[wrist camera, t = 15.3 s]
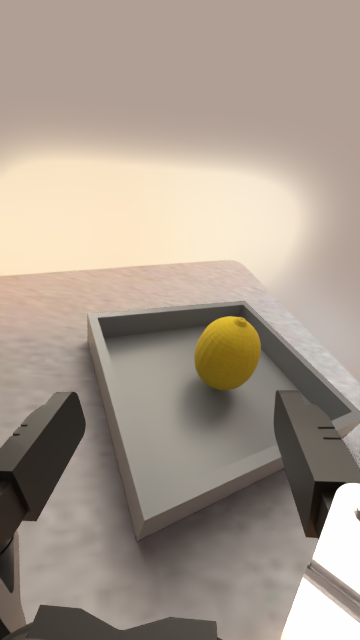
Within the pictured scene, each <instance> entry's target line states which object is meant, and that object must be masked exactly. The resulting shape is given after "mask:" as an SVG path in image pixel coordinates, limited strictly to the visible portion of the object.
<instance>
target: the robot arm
mask: <svg viewBox="0 0 360 640" xmlns="http://www.w3.org/2000/svg"><path fill="white" fill-rule="evenodd" d="M85 426H86V423H85V418H84V414H83V411H82V408H81V404H80V401H79V397H78V395H77V393H76V392H56V393H55V394H54V395H53V396H52V397H51V398H50V399H49V400H48V402H47V403H46V404H45V405H42V406H41V407H39V408H38V409H36V410H35V411H34V412H32V413H31V414H30V415H29V416H28V417H27V418H26V419H25V420H24V422H23V423H22V424H21V427H18V429H17V430H16V431H15V432H14V433H13V436H11V437H10V438H9V439H8V440H7V441H6V442H5V443H4V445H3V446H2V447H1V448H0V640H222V639H220V638H218V637H217V625H216V621H206V620H195V619H185V618H174V617H169V618H165V619H162V620H158V621H155V622H152V623H148V624H145V625H141V626H138V627H134V628H131V629H127V630H118V629H116V628H114V627H112V626H111V625H109V624H107V623H105V622H104V621H102V620H100V619H98V618H96V617H95V616H93V615H91V614H89V613H88V612H86V611H84V610H82V609H80V608H69V607H58V606H48V605H40V607H39V609H38V612H37V614H36V616H35V619H34V621H33V622H32V623H30V624H27V625H26V621H25V617H24V613H23V610H22V606H21V599H20V569H19V535H18V532H17V528H18V527H19V525H20V523H21V522H22V521H37V519H38V517H39V516H40V514H41V512H42V510H43V508H44V506H45V505H46V503H47V501H48V499H49V497H50V495H51V494H52V492H53V490H54V488H55V486H56V485H57V483H58V481H59V479H60V477H61V475H62V474H63V472H64V470H65V468H66V466H67V465H68V463H69V461H70V459H71V457H72V455H73V454H74V452H75V450H76V448H77V446H78V445H79V443H80V441H81V439H82V437H83V435H84V432H85ZM274 433H275V438H276V441H277V444H278V448H279V451H280V454H281V458H282V461H283V464H284V467H285V471H286V474H287V477H288V480H289V484H290V487H291V490H292V493H293V497H294V500H295V503H296V506H297V510H298V513H299V516H300V520H301V523H302V526H303V529H304V533H305V536H306V537H312V538H318V540H319V542H318V545H317V547H316V550H315V553H314V556H313V559H312V561H311V563H310V565H308V567H307V569H306V571H305V573H304V576H303V578H302V581H301V584H300V587H299V589H298V592H297V595H296V598H295V600H294V603H293V606H292V609H291V611H290V614H289V617H288V620H287V622H286V625H285V628H284V631H283V633H282V636H281V639H280V640H360V469H359V467H358V465H357V464H356V462H355V460H354V459H353V457H352V455H351V454H350V452H349V450H348V448H347V447H346V445H345V443H344V442H343V440H341V437H340V435H339V433H338V432H337V430H335V427H334V425H333V423H332V422H331V420H330V418H329V417H328V415H327V414H326V413H325V412H324V411H322V410H321V409H320V408H319V407H318V406H317V405H315V404H305V402H304V400H303V398H302V396H301V394H300V392H299V391H298V390H276V393H275V407H274Z"/></svg>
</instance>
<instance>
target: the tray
mask: <svg viewBox="0 0 360 640" xmlns="http://www.w3.org/2000/svg"><path fill="white" fill-rule="evenodd" d="M229 316H233V317H242V318H244V319H245V320H246V321H247V322H249V323H250V324H251V325H252V326H253V327H254V329H255V330H256V332H257V333H258V335H259V338H260V342H261V351H260V358H259V362H258V364H257V367H256V369H255V371H254V373H253V374H252V376H251V377H250V378H249V379H248V380H247V381H246V382H245V383H244V384H243V385H241V386H240V387H238V388H235V389H232V390H218V389H215V388H212V387H210V386H208V385H207V384H206V383H205V382H203V380H202V379H201V378H200V377H199V375H198V373H197V371H196V368H195V362H194V355H195V349H196V345H197V342H198V340H199V338H200V337H201V335H202V333H203V332H204V330H205V329H206V328H207V327H208V325H210V324H211V323H212V322H214V321H215V320H217V319H219V318H222V317H229ZM87 318H88V344H89V348H90V352H91V356H92V361H93V365H94V369H95V373H96V377H97V381H98V385H99V389H100V393H101V397H102V401H103V405H104V409H105V413H106V417H107V422H108V426H109V430H110V434H111V438H112V442H113V446H114V450H115V454H116V458H117V462H118V466H119V470H120V474H121V478H122V483H123V487H124V491H125V495H126V499H127V503H128V507H129V511H130V515H131V519H132V523H133V527H134V531H135V535H136V539H137V541H138V540H140V539H142V538H145V537H147V536H149V535H151V534H153V533H155V532H157V531H159V530H161V529H163V528H165V527H167V526H169V525H171V524H173V523H175V522H177V521H179V520H181V519H183V518H185V517H187V516H189V515H191V514H193V513H195V512H197V511H199V510H201V509H203V508H205V507H207V506H209V505H211V504H213V503H215V502H217V501H219V500H221V499H223V498H225V497H227V496H229V495H231V494H233V493H235V492H237V491H239V490H241V489H243V488H245V487H247V486H249V485H251V484H253V483H255V482H257V481H259V480H261V479H263V478H265V477H267V476H269V475H271V474H273V473H275V472H277V471H279V470H281V469H283V468H285V467H284V464H283V461H282V458H281V454H280V451H279V448H278V444H277V441H276V438H275V433H274V407H275V393H276V390H298V391H299V392H300V394H301V396H302V398H303V400H304V402H305V404H315V405H317V406H318V407H319V408H320V409H321V410H322V411H324V412H325V413H326V414H327V415H328V417H329V418H330V420H331V422H332V423H333V425H334V427H335V430H337V432H338V433H339V435H340V437H341V439H343V438H344V437H345V436H346V435H347V434H348V433H349V432H350V431H352V430H353V429H354V428H355V427H356V426H357V425H358V424H359V423H360V411H359V410H358V409H357V408H356V407H355V406H354V405H353V404H352V403H351V402H350V401H349V400H348V399H347V398H346V397H344V396H343V395H342V394H341V393H340V392H339V391H338V390H337V389H336V388H335V387H334V386H333V385H332V384H331V383H330V382H329V381H328V380H327V379H326V378H325V377H324V376H323V375H322V374H320V373H319V372H318V371H317V370H316V369H315V368H314V367H313V366H312V365H311V364H310V363H309V362H308V361H307V360H306V359H305V358H304V357H303V356H302V355H301V354H300V353H299V352H297V351H296V350H295V349H294V348H293V347H292V346H291V345H290V344H289V343H288V342H287V341H286V340H285V339H284V338H283V337H282V336H281V335H280V334H279V333H278V332H277V331H276V330H275V329H273V328H272V327H271V326H270V325H269V324H268V323H267V322H266V321H265V320H264V319H263V318H262V317H261V316H260V315H259V314H258V313H257V312H256V311H255V310H254V309H253V308H252V307H251V306H249V305H248V304H247V303H246V302H245V301H237V302H224V303H212V304H200V305H188V306H175V307H163V308H151V309H139V310H127V311H114V312H102V313H90V314H87Z"/></svg>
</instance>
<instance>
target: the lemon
mask: <svg viewBox="0 0 360 640" xmlns="http://www.w3.org/2000/svg"><path fill="white" fill-rule="evenodd" d="M260 351H261V342H260V338H259V335H258V333H257V332H256V330H255V329H254V327H253V326H252V325H251V324H250V323H249V322H247V321H246V320H245V319H244V318H242V317H233V316H229V317H222V318H219V319H217V320H215V321H214V322H212V323H211V324H210V325H208V327H207V328H206V329H205V330H204V332H203V333H202V335H201V337H200V338H199V340H198V342H197V345H196V349H195V355H194V362H195V368H196V371H197V373H198V375H199V377H200V378H201V379H202V380H203V382H205V383H206V384H207V385H208V386H210V387H212V388H215V389H218V390H232V389H235V388H238V387H240V386H241V385H243V384H244V383H245V382H246V381H247V380H248V379H249V378H250V377H251V376H252V374H253V373H254V371H255V369H256V367H257V364H258V362H259V358H260Z"/></svg>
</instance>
